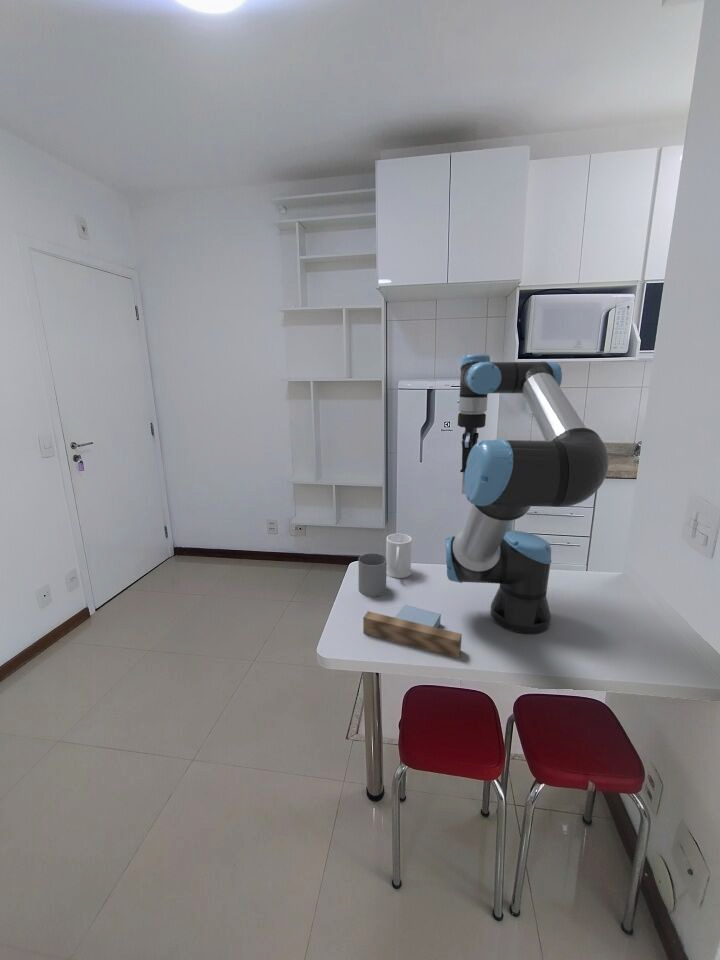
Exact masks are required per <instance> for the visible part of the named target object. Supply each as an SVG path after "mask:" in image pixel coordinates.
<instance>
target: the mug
mask: <svg viewBox="0 0 720 960" xmlns="http://www.w3.org/2000/svg"><path fill="white" fill-rule="evenodd" d="M412 539H413V538H412V537H411V536H409V534H405V533H391V534H389V535H387V536H386V547H385V550H386V551H385V552H386V553H385V554H386V555H385V557H386V560H387V567H386V576H388V577H391V578H395V579H404V578H408V577H409V576H411V574H412V569H411V568H412V542H413V541H412Z"/></svg>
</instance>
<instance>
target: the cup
mask: <svg viewBox="0 0 720 960" xmlns="http://www.w3.org/2000/svg"><path fill="white" fill-rule="evenodd" d="M386 567H387V560H386V556H384V555H383V554H379V553H376V552H375V553H373V552H370V553H369V552H368V553H365V554H362V555H360V556H359V557H358V592H359V593H360V594H361V595H363V596H365V597H366V596H367V597H378V596H379V597H380V596H382V595H384V594H385V593H386V592H387V574H386Z"/></svg>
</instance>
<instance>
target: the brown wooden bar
mask: <svg viewBox="0 0 720 960" xmlns="http://www.w3.org/2000/svg"><path fill="white" fill-rule="evenodd" d="M362 618H363V621H362V622H363V630H362V631H363V632H362V633H363V634H366V635H369V636H373V637H378V638H382V639H385V640H390V641H393V642H397V643H400V644H404V645H408V646H412V647H416V648H419V649H422V650H427V651H431V652H434V653H438V654H442V655H446V656H449V657H454V658H457V659H458V658H459V657H460V653H461V649H462V639H463V638H462V635H463V634H462V633H460V632H456V631H451V630H447V629H444V628H435V627H431V626H427V625H423V624H419V623H415V622H411V621H406V620H402V619H398V618H395V617H393V616H389V615H385V614H381V613H377V612H374V611H373V612H372V611H368V610H367V612H366V613H365V614H364V616H363V617H362Z"/></svg>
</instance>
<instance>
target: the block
mask: <svg viewBox="0 0 720 960" xmlns="http://www.w3.org/2000/svg"><path fill="white" fill-rule="evenodd" d="M441 616H442V614H441V613H440V612H434V611H431V610H427V609H424V608H420V607H417V606H412V605H408V604H406V603H405V604H404V605H403V606H402V607H401V609H400V610H399V612H398V613H397V615H395V617H394V618H398V619H402V620H406V621H411V622H415V623H419V624H423V625H427V626H431V627H435V628H439V627H440V626H441Z"/></svg>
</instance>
